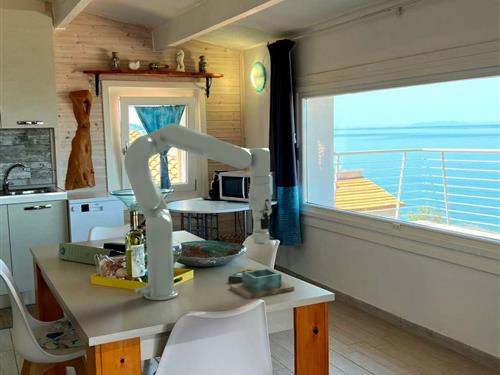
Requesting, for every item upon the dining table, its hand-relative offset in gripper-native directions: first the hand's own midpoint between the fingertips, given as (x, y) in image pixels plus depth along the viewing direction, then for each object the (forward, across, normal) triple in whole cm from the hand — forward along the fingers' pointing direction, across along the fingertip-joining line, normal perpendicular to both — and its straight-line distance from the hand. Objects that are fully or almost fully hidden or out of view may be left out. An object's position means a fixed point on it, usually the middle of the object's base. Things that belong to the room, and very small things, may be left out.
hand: (260, 227), depth 209 cm
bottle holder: (+24, 0, 0) cm, 24 cm away
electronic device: (+25, -17, +2) cm, 30 cm away
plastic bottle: (+7, 0, 0) cm, 7 cm away
